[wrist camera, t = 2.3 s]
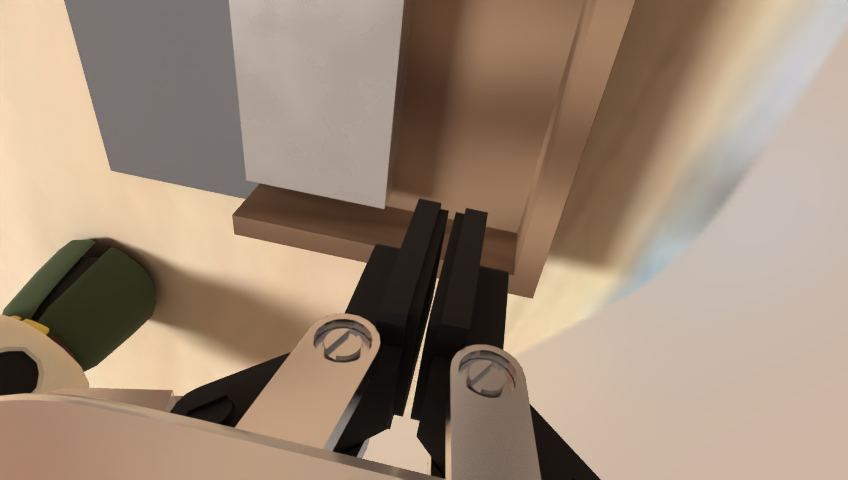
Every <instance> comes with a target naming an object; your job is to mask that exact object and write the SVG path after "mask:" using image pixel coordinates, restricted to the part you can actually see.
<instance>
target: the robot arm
mask: <svg viewBox="0 0 848 480" xmlns="http://www.w3.org/2000/svg"><path fill="white" fill-rule="evenodd" d="M448 213H449V210H444V209H441V203H440V202H435V201H430V200H425V199H419V200H418V203H417V205H416V208H415V211H414V213H413V216H412V219H411V222H410V224H409V227H408V230H407V232H406V235H405V238H404V240H403V243H402V246H401V248H396V247H391V246H386V245H382V244H376V245H375V247H374V249H373V251H372V253H371V256H370V258H369V260H368V262H367V265H366V267H365V269H364V271H363V274H362V276H361V278H360V280H359V282H358V285H357V287H356V289H355V291H354V294H353V296H352V298H351V300H350V303H349V305H348V307H347V309H346V312H345V314H334V315H329V316H326V317H324V318H322V319H320V320H318V321H316V322H315V323H314V324H313V325H312V326H311V327H310V328H309V329H308V331H307V332H306V333H305V335H304V336H303V337H302V339H301V340H300V341H299V343H298V344H297V345H296V347H295V348H294V349H293V351H292V352H290V353H287V354H285V355H282V356H279V357H277V358H274V359H272V360H269V361H266V362H264V363H261V364H258V365H256V366H253V367H251V368H248V369H245V370H243V371H240V372H237V373H235V374H232V375H230V376H227V377H224V378H222V379H219V380H216V381H214V382H211V383H209V384H206V385H203V386H201V387H198V388H196V389H194V390H193V391H191V392H189V393H187V394H186V395H184V396H174V393H173V390H144V389H109V388H74V387H72V388H63V389H57V390H54V391H51V392H48V393H46V394H34V393H23V394H13V395H3V396H0V480H600V479H599V477H598V476H597V475H596V474H595V473H594V472H593V471H592V470H591V469H590V468H589V467H588V466H587V465H586V464H585V462H584V461H583V460H582V459H581V458H580V457H579V456H578V455H577V454H576V453H575V452H574V451H573V450H572V449H571V448H570V447H569V445H568V444H567V443H566V442H565V441H564V440H563V439H562V438H561V437H560V436H559V435H558V434H557V433H556V431H554V429H553V428H552V427H551V426H550V425H549V424H548V423H547V422H546V421H545V420H544V419H543V417H542V416H541V415H540V414H539V413H538V412H537V411H536V410H535V409H534V408H533V407H532V406H531V405H530V404H529V398H528V391H527V385H526V378H525V375H524V372H523V369H522V367H521V366H520V364H519V363H518V362H517V360H516V359H515V358H514V357H512V356H511V355H510V354H509V353H507V352H506V351H504V350H503V345H504V333H505V320H506V307H507V294H508V281H509V272H508V271H503V270H498V269H494V268H489V267H484V266H480V261H481V255H482V248H483V242H484V235H485V229H486V222H487V216H488V212H483V211H478V210H474V209H469V208H466V210H465V214H463V213H459V212H456V213H455V217H454V221H453V225H452V229H451V233H450V237H449V241H448V245H447V249H446V253H445V257H444V261H443V265H442V269H441V273H440V277H439V281H438V285H437V289H436V293H435V297H434V301H433V305H432V309H431V313H430V318H429V322H428V327H427V332H426V338H425V343H424V348H423V354H422V359H421V364H420V370H419V375H418V381H417V386H416V391H415V397H414V402H413V407H412V413H411V419H415V420H419V421H420V422H419V427H418V432H417V438H418V439H419V440H420V442H421V443H422V444H423V446H424V447H425V449H426V450H427V451H428V453H429V454H430V455H429V460H428V471H427V475H426V474H422V473H418V472H414V471H410V470H406V469H402V468H398V467H393V466H390V465H386V464H382V463H377V462H374V461H369V460H365V459H362V458H363V455H364V453H365V451H366V449H367V446H368V443H369V438H370V437H372V436H374V435H376V434H378V433H380V432H382V431H384V430H386V429H390V427H391V423H392V419H393V416H394V415H398V416H403V414H404V410H405V407H406V403H407V399H408V395H409V391H410V387H411V383H412V379H413V375H414V371H415V367H416V363H417V359H418V355H419V351H420V347H421V343H422V339H423V335H424V332H425V328H426V324H427V320H428V316H429V312H430V308H431V304H432V299H433V294H434V289H435V283H436V278H437V273H438V267H439V262H440V257H441V251H442V246H443V240H444V235H445V230H446V224H447V219H448Z"/></svg>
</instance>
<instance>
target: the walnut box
mask: <svg viewBox="0 0 848 480" xmlns="http://www.w3.org/2000/svg"><path fill="white" fill-rule="evenodd" d="M634 3H635V0H415V2H414V11H413V21H412V30H411V40H410V49H409V59H408V68H407V78H406V87H405V97H404V106H403V116H402V125H401V135H400V144H399V154H398V163H397V173H396V183H395V187H394V189H393V191H392V193H391V196H390V198H389V200H388V202H387V204H386V207H385V209H381V208H377V207H372V206H367V205H362V204H357V203H353V202H348V201H343V200H338V199H333V198H329V197H324V196H319V195H314V194H309V193H305V192H300V191H295V190H290V189H285V188H281V187H276V186H271V185H266V184H261V183H260V184H259V185H258V186H257V187H256V188H255V189H254V191H253V192H252V193H251V194H250V195H249V196H248V198H247V199H246V200H245V201H244V202H243V203H242V205H241V206H240V207H239V208H238V209H237V210H236V212H235V213H234V214H233V215H232V217H233V226H234V234H236V235H241V236H245V237H250V238H255V239H259V240H264V241H269V242H273V243H278V244H282V245H287V246H292V247H296V248H301V249H306V250H310V251H315V252H319V253H324V254H329V255H333V256H338V257H343V258H347V259H352V260H356V261H361V262H366V263H367V262H368V260H369V258H370V256H371V253H372V251H373V249H374V247H375V245H376V244H382V245H386V246H391V247H396V248H401V246H402V243H403V240H404V238H405V235H406V232H407V230H408V227H409V224H410V222H411V219H412V216H413V213H414V211H415V208H416V205H417V203H418V200H419V199H425V200H430V201H435V202H440V203H441V209H444V210H449V213H448V219H447V224H446V230H445V235H444V240H443V246H442V251H441V257H440V262H439V267H438V273H437V278H439V277H440V273H441V269H442V265H443V261H444V257H445V253H446V249H447V245H448V241H449V237H450V233H451V229H452V225H453V221H454V217H455V213H456V212H459V213H463V214H465V210H466V208H469V209H474V210H478V211H483V212H488V216H487V222H486V229H485V235H484V242H483V248H482V255H481V261H480V266H484V267H489V268H494V269H498V270H503V271H508V272H509V281H508V293H509V294H514V295H518V296H523V297H528V298H532V299H533V296H534V293H535V290H536V287H537V284H538V281H539V278H540V276H541V273H542V270H543V267H544V264H545V261H546V258H547V255H548V252H549V249H550V247H551V244H552V241H553V238H554V235H555V232H556V229H557V226H558V223H559V220H560V218H561V215H562V212H563V209H564V206H565V203H566V200H567V197H568V194H569V191H570V189H571V186H572V183H573V180H574V177H575V174H576V171H577V168H578V165H579V162H580V159H581V157H582V154H583V151H584V148H585V145H586V142H587V139H588V136H589V133H590V130H591V128H592V125H593V122H594V119H595V116H596V113H597V110H598V107H599V104H600V101H601V99H602V96H603V93H604V90H605V87H606V84H607V81H608V78H609V75H610V72H611V70H612V67H613V64H614V61H615V58H616V55H617V52H618V49H619V46H620V43H621V41H622V38H623V35H624V32H625V29H626V26H627V23H628V20H629V17H630V14H631V12H632V9H633V6H634Z"/></svg>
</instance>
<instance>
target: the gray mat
mask: <svg viewBox="0 0 848 480" xmlns="http://www.w3.org/2000/svg"><path fill="white" fill-rule="evenodd" d="M64 1H65V5H66V9H67V12H68V16H69V19H70V23H71V27H72V30H73V34H74V38H75V41H76V45H77V49H78V52H79V56H80V59H81V63H82V67H83V70H84V74H85V78H86V81H87V85H88V89H89V92H90V96H91V99H92V103H93V107H94V110H95V114H96V118H97V121H98V125H99V129H100V132H101V136H102V139H103V143H104V147H105V150H106V154H107V158H108V161H109V165H110V169H111V171H116V172H120V173H125V174H130V175H135V176H139V177H144V178H149V179H154V180H158V181H163V182H168V183H173V184H177V185H182V186H187V187H192V188H196V189H201V190H206V191H211V192H215V193H220V194H225V195H230V196H234V197H239V198H244V199H247V198H248V196H249V195H250V194H251V193H252V192H253V191H254V189H255V188H256V187H257V186H258V185H259V184H260V183H257V182H252V181H247V180H246V173H245V162H244V152H243V142H242V131H241V121H240V111H239V100H238V90H237V79H236V69H235V59H234V48H233V38H232V28H231V17H230V7H229V0H64Z"/></svg>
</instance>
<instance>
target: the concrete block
mask: <svg viewBox="0 0 848 480" xmlns="http://www.w3.org/2000/svg"><path fill="white" fill-rule="evenodd" d="M414 2H415V0H229V7H230V17H231V28H232V38H233V48H234V59H235V69H236V79H237V90H238V100H239V111H240V121H241V131H242V142H243V152H244V162H245V173H246V180H247V181H252V182H257V183H261V184H266V185H271V186H276V187H281V188H285V189H290V190H295V191H300V192H305V193H309V194H314V195H319V196H324V197H329V198H333V199H338V200H343V201H348V202H353V203H357V204H362V205H367V206H372V207H377V208H381V209H385V207H386V204H387V202H388V200H389V198H390V196H391V193H392V191H393V189H394V187H395V183H396V173H397V163H398V154H399V144H400V135H401V125H402V116H403V106H404V97H405V87H406V78H407V68H408V59H409V49H410V40H411V30H412V21H413V11H414Z"/></svg>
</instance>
